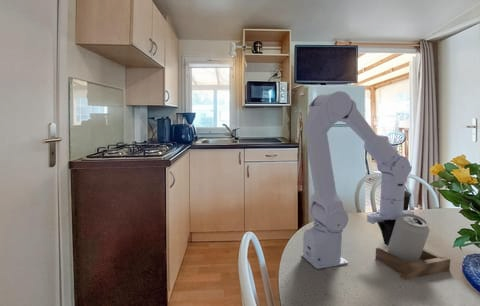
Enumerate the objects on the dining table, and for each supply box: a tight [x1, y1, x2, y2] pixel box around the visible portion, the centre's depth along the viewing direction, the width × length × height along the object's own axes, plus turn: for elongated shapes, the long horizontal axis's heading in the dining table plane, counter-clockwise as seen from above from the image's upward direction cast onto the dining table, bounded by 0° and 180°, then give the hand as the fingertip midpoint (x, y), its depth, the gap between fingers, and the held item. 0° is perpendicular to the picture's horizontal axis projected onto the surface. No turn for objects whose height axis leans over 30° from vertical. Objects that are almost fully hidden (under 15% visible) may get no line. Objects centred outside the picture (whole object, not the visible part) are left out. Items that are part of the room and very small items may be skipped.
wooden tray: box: [374, 247, 451, 281], centre depth 73 cm, size 14×10×3 cm
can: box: [386, 213, 430, 263], centre depth 73 cm, size 8×8×12 cm
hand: (389, 245), depth 79 cm, fingers closed, pressing on can
